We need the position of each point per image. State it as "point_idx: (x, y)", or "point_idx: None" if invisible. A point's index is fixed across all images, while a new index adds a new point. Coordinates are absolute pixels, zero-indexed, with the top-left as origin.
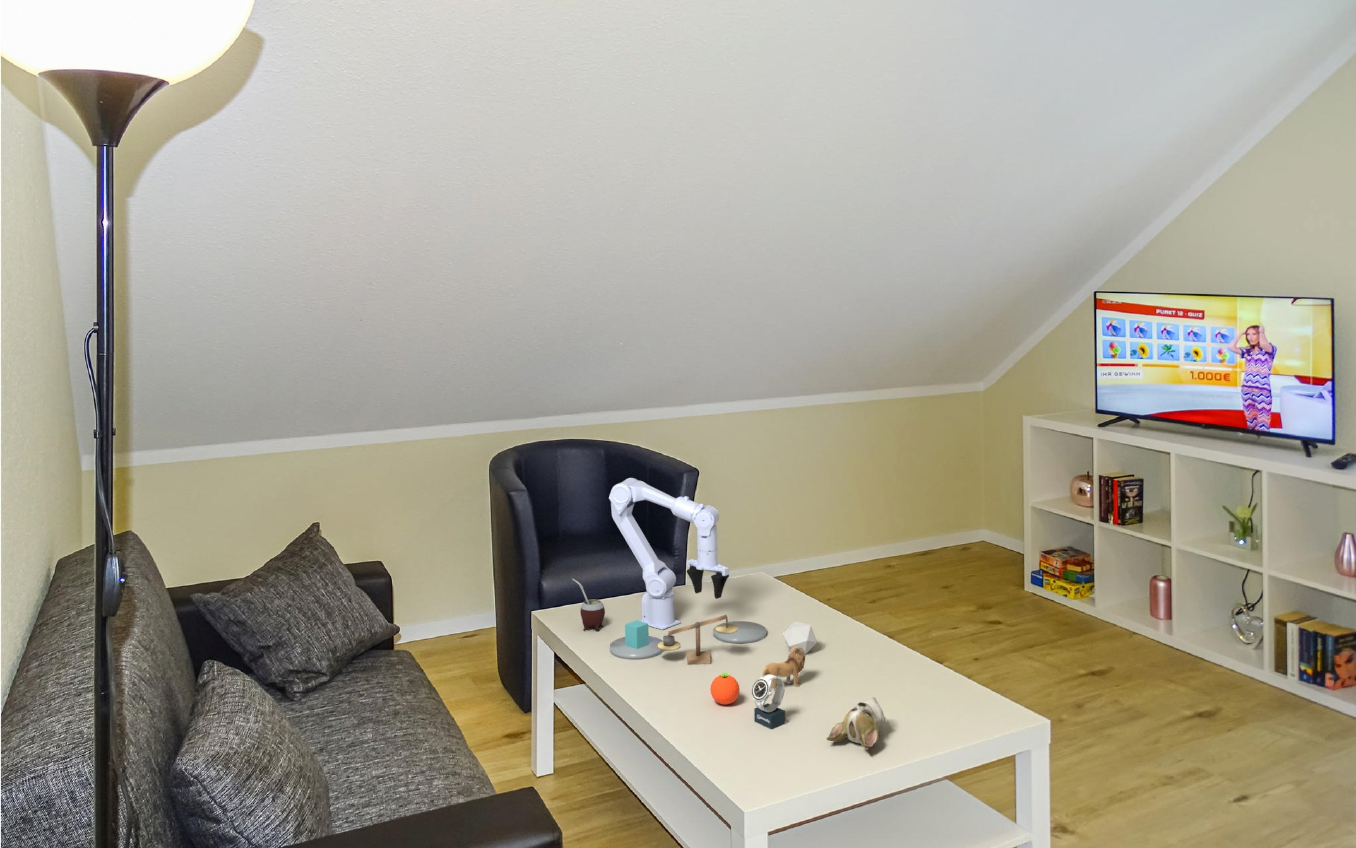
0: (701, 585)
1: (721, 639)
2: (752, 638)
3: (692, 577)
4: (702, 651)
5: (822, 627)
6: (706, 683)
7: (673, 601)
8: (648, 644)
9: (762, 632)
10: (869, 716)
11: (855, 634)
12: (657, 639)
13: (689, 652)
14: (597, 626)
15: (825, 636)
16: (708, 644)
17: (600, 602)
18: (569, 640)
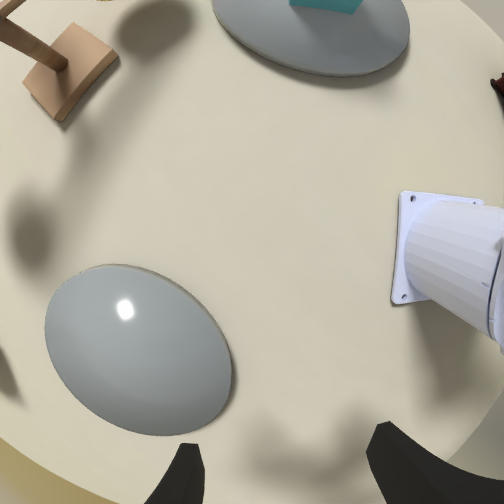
0: (379, 483)
1: (116, 265)
2: (45, 327)
3: (455, 492)
4: (66, 95)
5: (74, 463)
6: None
7: (465, 310)
8: (289, 3)
9: (71, 385)
10: None
11: (26, 447)
12: (309, 55)
13: (98, 53)
14: (501, 78)
15: (30, 428)
16: (129, 198)
17: None
18: (470, 11)
